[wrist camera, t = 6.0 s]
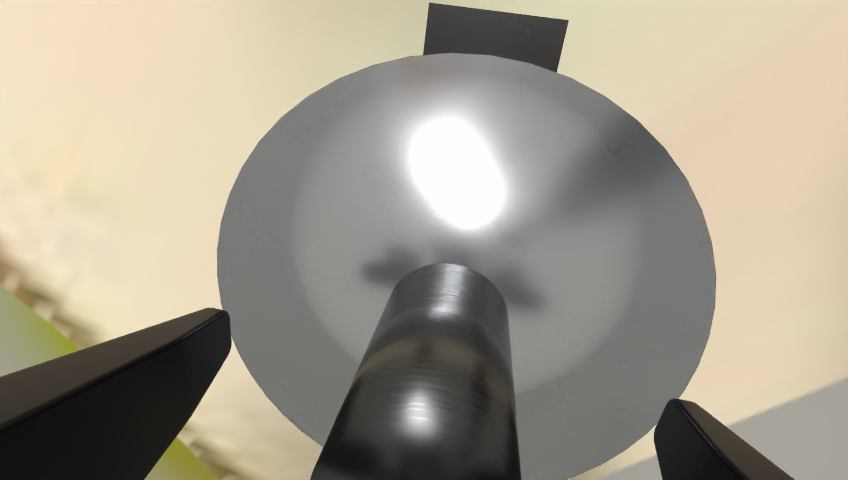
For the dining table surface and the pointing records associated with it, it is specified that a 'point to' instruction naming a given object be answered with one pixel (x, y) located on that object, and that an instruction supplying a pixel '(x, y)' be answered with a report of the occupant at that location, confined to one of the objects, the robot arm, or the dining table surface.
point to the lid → (465, 272)
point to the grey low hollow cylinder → (495, 34)
